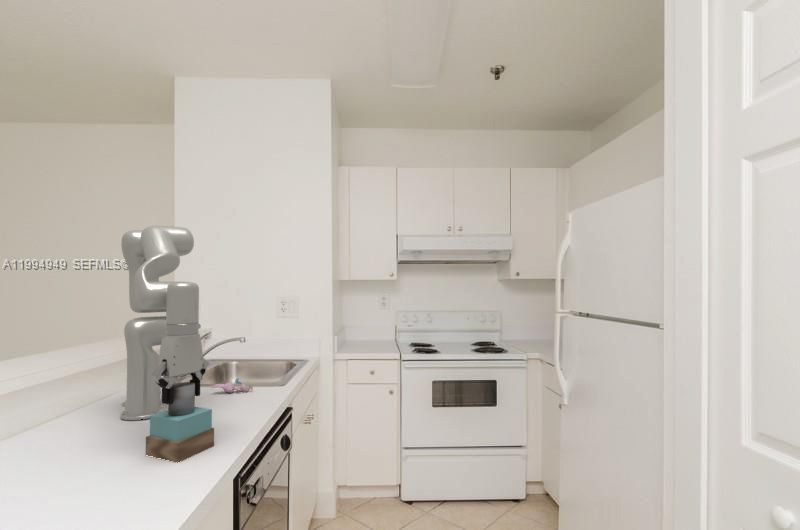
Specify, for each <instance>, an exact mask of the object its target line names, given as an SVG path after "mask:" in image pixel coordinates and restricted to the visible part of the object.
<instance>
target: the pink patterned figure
mask: <svg viewBox="0 0 800 530" xmlns="http://www.w3.org/2000/svg"><path fill="white" fill-rule="evenodd" d="M239 380H240V378H239V377H237V378H236V379H235V380H234V382H235V384H237V385H239V386H235V384H234V383H233V382H226V383H216V384H214V385H212V386H211V389H214V388H220V389H223V391H224V392H225V393H229V394H232V393H234V391H237V392H242V393H248V392H249V391H250V389H251V392H253V385H252V386H251V385H247V384H244V383H243V382H242V381H239Z"/></svg>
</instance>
